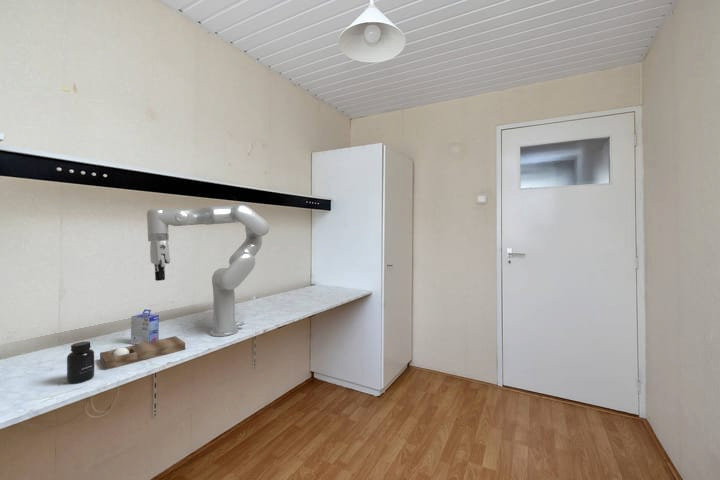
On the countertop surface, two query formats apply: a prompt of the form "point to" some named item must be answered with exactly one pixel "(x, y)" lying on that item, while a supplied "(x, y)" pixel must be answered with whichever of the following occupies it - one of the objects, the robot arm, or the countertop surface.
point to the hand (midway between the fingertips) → (160, 280)
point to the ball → (120, 352)
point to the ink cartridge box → (144, 328)
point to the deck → (142, 352)
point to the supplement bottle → (80, 363)
